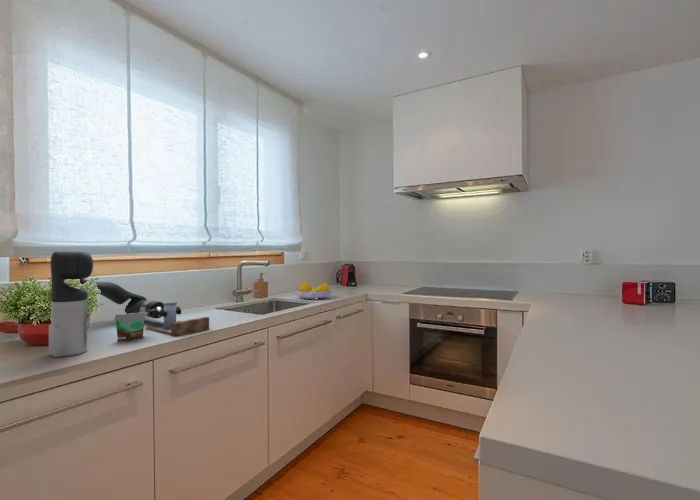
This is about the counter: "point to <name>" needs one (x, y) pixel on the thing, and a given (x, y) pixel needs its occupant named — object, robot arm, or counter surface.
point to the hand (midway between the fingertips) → (173, 313)
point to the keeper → (169, 313)
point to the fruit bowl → (313, 291)
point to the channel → (184, 327)
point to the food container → (130, 326)
